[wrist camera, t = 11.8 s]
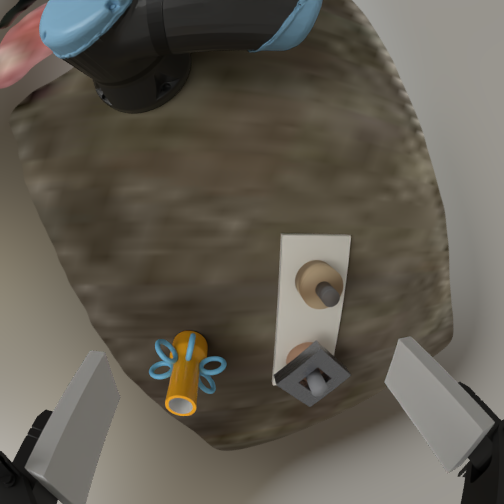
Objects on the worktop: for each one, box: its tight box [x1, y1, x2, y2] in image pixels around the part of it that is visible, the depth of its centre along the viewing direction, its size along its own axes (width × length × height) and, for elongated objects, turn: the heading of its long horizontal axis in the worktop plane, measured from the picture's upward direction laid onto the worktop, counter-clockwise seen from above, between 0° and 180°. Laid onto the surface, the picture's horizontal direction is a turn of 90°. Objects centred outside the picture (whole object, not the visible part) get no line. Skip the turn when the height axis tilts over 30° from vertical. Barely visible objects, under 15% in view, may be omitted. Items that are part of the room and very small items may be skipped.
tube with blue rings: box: [149, 331, 227, 416], centre depth 37 cm, size 12×10×15 cm
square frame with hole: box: [274, 340, 351, 407], centre depth 41 cm, size 9×9×2 cm
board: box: [272, 234, 351, 385], centre depth 45 cm, size 28×11×1 cm, turn 179°
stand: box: [295, 260, 343, 309], centre depth 39 cm, size 6×6×8 cm
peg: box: [286, 342, 328, 397], centre depth 42 cm, size 7×7×9 cm
